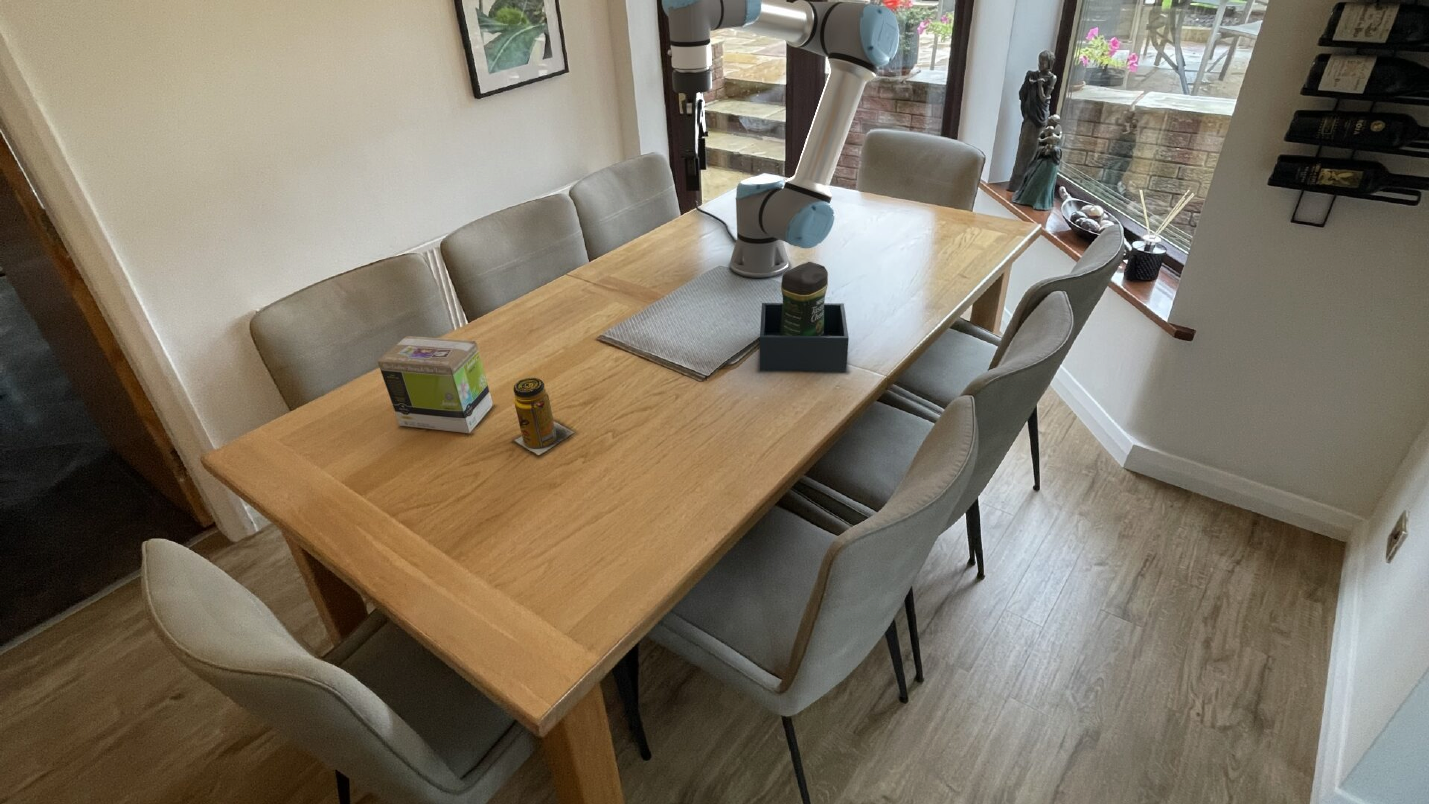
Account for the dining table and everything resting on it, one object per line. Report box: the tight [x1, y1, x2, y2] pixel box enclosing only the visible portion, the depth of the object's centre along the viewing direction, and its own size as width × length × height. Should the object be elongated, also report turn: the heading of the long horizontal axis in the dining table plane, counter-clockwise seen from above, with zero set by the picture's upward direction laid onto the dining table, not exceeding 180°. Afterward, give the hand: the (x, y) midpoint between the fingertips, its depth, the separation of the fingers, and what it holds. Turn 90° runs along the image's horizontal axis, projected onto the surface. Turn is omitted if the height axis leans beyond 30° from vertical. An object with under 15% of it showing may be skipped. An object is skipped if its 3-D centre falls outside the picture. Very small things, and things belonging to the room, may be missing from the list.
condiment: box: [513, 377, 575, 456], centre depth 130 cm, size 7×8×12 cm
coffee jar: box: [780, 261, 829, 336], centre depth 150 cm, size 10×8×19 cm
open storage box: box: [759, 302, 850, 373], centre depth 153 cm, size 15×18×8 cm
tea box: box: [377, 335, 493, 434], centre depth 136 cm, size 15×10×15 cm, turn 77°
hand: (696, 179), depth 151 cm, fingers open, 13 cm apart
